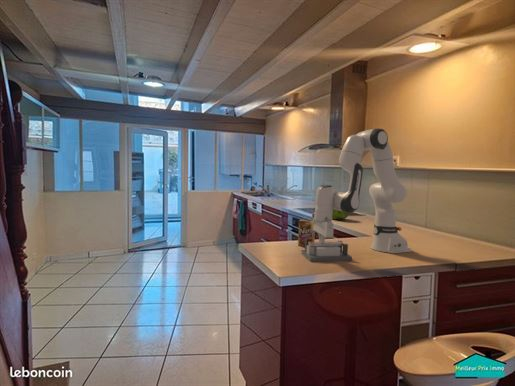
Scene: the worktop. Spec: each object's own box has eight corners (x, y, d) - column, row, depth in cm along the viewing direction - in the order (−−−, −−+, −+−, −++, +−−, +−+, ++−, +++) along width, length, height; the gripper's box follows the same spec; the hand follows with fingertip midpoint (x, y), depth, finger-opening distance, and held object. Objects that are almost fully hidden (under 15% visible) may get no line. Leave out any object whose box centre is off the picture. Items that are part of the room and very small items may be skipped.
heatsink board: (339, 253, 175) (340, 236, 174) (351, 260, 161) (352, 242, 160) (301, 253, 171) (302, 237, 170) (310, 261, 157) (311, 243, 156)
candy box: (297, 245, 189) (298, 220, 187) (300, 244, 192) (301, 219, 191) (311, 248, 184) (312, 222, 182) (314, 246, 187) (315, 221, 186)
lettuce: (335, 217, 308) (331, 200, 308) (354, 217, 289) (350, 198, 288) (322, 222, 299) (319, 204, 298) (341, 222, 279) (337, 203, 278)
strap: (340, 243, 169) (340, 240, 169) (343, 245, 165) (343, 242, 165) (307, 244, 166) (307, 240, 166) (310, 246, 162) (310, 242, 162)
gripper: (337, 219, 154) (335, 247, 155) (321, 213, 174) (320, 238, 175) (325, 219, 153) (323, 247, 154) (310, 213, 173) (309, 238, 174)
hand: (321, 242), depth 165 cm, fingers closed, pressing on strap
